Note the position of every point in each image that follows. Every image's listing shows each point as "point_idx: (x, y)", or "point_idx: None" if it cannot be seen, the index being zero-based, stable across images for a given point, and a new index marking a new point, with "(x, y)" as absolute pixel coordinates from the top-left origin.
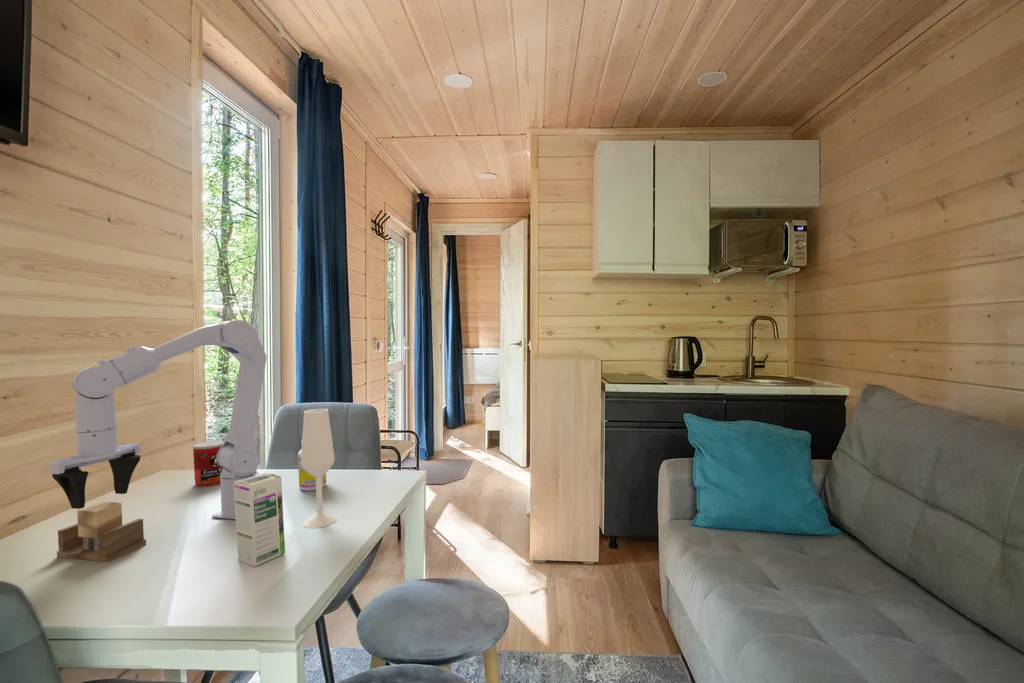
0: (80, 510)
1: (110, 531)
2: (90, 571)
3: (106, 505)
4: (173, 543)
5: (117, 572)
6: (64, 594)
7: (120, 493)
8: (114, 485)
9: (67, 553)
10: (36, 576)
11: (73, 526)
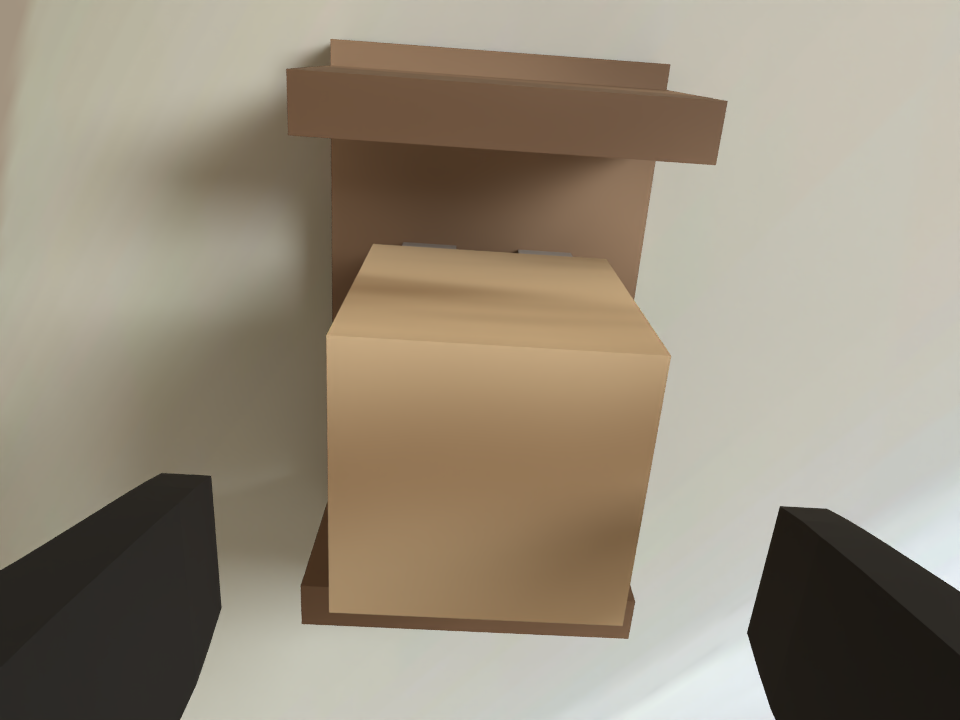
0: (332, 383)
1: (357, 618)
2: (224, 517)
3: (529, 538)
4: (609, 664)
5: (251, 662)
6: None
7: (763, 586)
8: (849, 572)
9: (331, 169)
10: (82, 236)
11: (409, 137)
